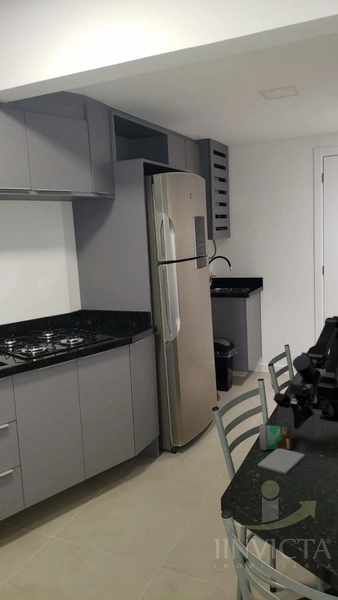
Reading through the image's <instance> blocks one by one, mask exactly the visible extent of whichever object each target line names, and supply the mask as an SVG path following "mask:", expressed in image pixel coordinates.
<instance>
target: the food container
mask: <svg viewBox="0 0 338 600" xmlns="http://www.w3.org/2000/svg"><path fill="white" fill-rule="evenodd" d="M258 427H259V428H258V429H259V432H258V434H259V450H262V451H267V450H276V449H280V448H281V449H285V450H292V449H293V443H292V439H293V438H292V430H291V429H292V428H291V426H289V427H287V426H277V425H267V423H261V424H259V426H258Z"/></svg>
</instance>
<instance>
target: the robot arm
mask: <svg viewBox="0 0 338 600" xmlns="http://www.w3.org/2000/svg"><path fill="white" fill-rule="evenodd" d="M292 366H293V368H294V369H295V371H296V373H297V374H298V376H300V378H301V379H300V382H297V384H296V383H295V384H294V383H290V386H289V394H290V395H292V397H293V398H290V397H289V395H288V394H286V393H280V392H277V393H276V394H274V396H273V401H274V402H275V403H276V405H277V406H278V407H280V408H284V409H289V408H291V411H292V413H293V414H292V415H293V428H294V429H295V430H298V429H300V427H301V426H302V425H303V424H304V423H305V422H306V421H307V420H309V418H311V417H312V416H315V415H316V414H315V412H316V410H318V411H321V413H322V414H321V415H320V416H319V419H323V420H327V421H333V422H338V315H337V316H336V315H333V316H331V317H326V318H325V319H324V326H323V328H322V330H321V332H320V335H319V336H318V339H317V341H316V343H315V344H314V345H313V346H311V347H309V349H308V350H307V351H306V352H304V351H301V354H300V355H297V356H296V357H295V358H294V359H293V361H292ZM320 370H325V371H324V373H323V374H322V373H321V371H320ZM315 399H316V402H315Z"/></svg>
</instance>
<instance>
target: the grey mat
mask: <svg viewBox="0 0 338 600" xmlns="http://www.w3.org/2000/svg"><path fill="white" fill-rule="evenodd" d="M304 458H305V454H304V453H300V452H297V451H292V450H290V449H281V448H280V449H273V451H272V452H271V453H270V454H268V455H267V456H266V457H264V458H263V459H262V460H261V461H260V462H259V463H257V467H258V468H259V467H260V468H262V469H266V470H269V471H273V472H275V473H280V474H284V475H286V474H287V473H288V472H290V471H291V470H292V469H293V468H294V467H295V466H296V465H297V464H298V463H299V462H300V461H301V460H303V459H304Z"/></svg>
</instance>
